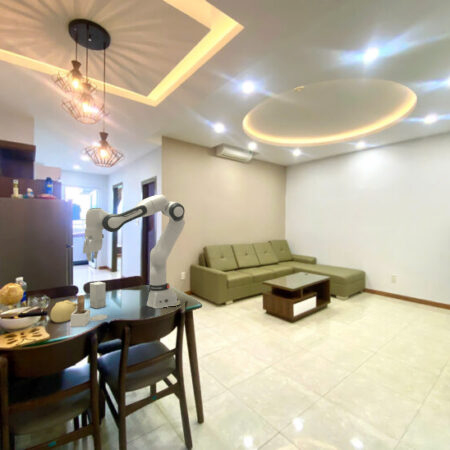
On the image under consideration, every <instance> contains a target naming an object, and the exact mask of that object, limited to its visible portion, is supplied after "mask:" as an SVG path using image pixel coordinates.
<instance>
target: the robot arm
mask: <svg viewBox="0 0 450 450" xmlns="http://www.w3.org/2000/svg"><path fill="white" fill-rule="evenodd" d="M185 210H186V209H185V207H184V206H183V205H182V204H181V203H179V202H177V201H171V200H168V199H167V197H166V196H165V195H164V194H155V195H152V196H149V197H146V198H144V199H142V200H141V201H139V202H137V204H136V205H135V206H134V207H133V208H130V209H128V210H126V211H123V212H121V213H110V212H107V211H106V210H104V209H103V208H101V207H95V208H93V207H92V208H89V209H88V210H86V211H87V212H86V215H85V229H84V239H85V240H84V242H83V246H82V253H83V254H86V261H87V262H91V261H92V258H93V259H98V255H99V254H98V253H99V251H101V250H102V249H103V248H102V247H103V242H104V241H103V239H104V237H105V236H104V234H103V230H105V231H107V232H109V233H116V232H118V231H119V230H120V229H121V228H122V227H123V226H124V225H125V224H127V223H130V222H132V221H134V220H136V219H138V218H139V219H140V218H145V217H149V216H151V215H152V216H153V215H154V214H156V213H158V212H161V213H162V214H163V215H164V216H166V217H168V218H169V219H168V223H167V225H166V226H165V228H164V229H163V231H162V233H161V235H160V236H159V238H158V240H157V241H156V244H155V246H154V247H153V248H152V249H151V251H150V252H149V283H148V298H147V302H146V306H147V307H149V308H153V309H156V310H157V309H158V310H159V309H164V308H163V307H167V308H169V307H168V306H174V305H175V304H177V302H178V301H177V299H178V296H177V293H176V292H175V291H173V290H172V289H171V288H170V287H171V286H170V283H167V261H168V258H169V256H170V254H171V253H172V250H173V248H174V246H175V244H176V242H177V241H178V238H180V235H181V233H182V231H183V230H184V227H185V223H186V222H185V221H186V220H185V219H184V217H185V212H186V211H185ZM92 253H93V255H92ZM92 256H93V257H92Z"/></svg>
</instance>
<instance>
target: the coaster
mask: <svg viewBox="0 0 450 450" xmlns="http://www.w3.org/2000/svg"><path fill="white" fill-rule="evenodd" d="M106 319H108V315H107V314H97V315H93V316H90V321H93V322H99V321H103V320H106Z"/></svg>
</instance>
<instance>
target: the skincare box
mask: <svg viewBox="0 0 450 450" xmlns="http://www.w3.org/2000/svg"><path fill="white" fill-rule="evenodd" d="M106 295H107V294H106V282H102V281H95V282H90V283H89V307H91V308H92V309H93V308H94V309H96V310H97V309H101V308H104V307H106V306H107V305H106V301H107V300H106V299H107V298H106Z"/></svg>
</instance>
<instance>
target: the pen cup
mask: <svg viewBox="0 0 450 450" xmlns="http://www.w3.org/2000/svg"><path fill="white" fill-rule="evenodd" d="M90 318H91V309H84V314H77V310H76V311H74V312H73V313H72V314H71V320H70V328H75V327H76V328H79V327H86V326H87V325H88V324H89V322H91V320H90Z"/></svg>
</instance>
